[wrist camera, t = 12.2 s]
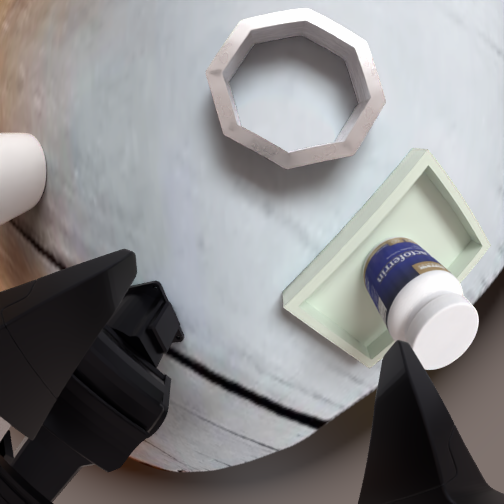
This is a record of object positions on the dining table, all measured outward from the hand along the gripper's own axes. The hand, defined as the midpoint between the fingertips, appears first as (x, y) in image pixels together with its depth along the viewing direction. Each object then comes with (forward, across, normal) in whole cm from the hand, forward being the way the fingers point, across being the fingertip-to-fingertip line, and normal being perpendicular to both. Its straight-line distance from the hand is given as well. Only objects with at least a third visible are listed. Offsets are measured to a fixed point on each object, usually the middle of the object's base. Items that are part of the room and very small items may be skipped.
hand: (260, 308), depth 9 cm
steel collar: (+15, +3, -6) cm, 16 cm away
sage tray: (+14, -9, +5) cm, 18 cm away
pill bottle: (+14, -9, +5) cm, 17 cm away
